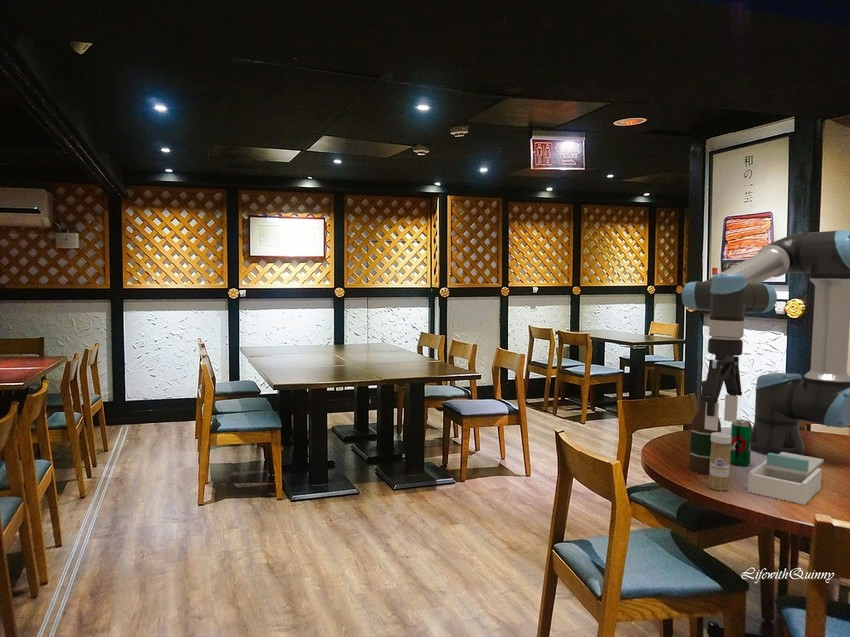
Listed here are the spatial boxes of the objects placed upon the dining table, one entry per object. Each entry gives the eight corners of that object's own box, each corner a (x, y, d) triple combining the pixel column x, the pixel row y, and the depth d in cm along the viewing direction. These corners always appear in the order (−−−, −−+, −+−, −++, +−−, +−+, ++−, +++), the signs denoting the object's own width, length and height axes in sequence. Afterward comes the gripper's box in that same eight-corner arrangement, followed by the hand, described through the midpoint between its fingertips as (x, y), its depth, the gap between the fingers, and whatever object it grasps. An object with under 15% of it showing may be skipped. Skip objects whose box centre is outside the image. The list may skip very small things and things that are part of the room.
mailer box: (767, 477, 163) (767, 458, 163) (820, 488, 155) (821, 469, 155) (747, 492, 152) (748, 472, 151) (804, 505, 144) (805, 483, 143)
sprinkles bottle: (711, 490, 153) (713, 435, 152) (706, 484, 157) (708, 431, 156) (731, 492, 152) (734, 436, 151) (725, 485, 156) (728, 432, 155)
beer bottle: (725, 471, 168) (729, 382, 167) (712, 477, 163) (716, 385, 161) (696, 464, 174) (700, 378, 172) (683, 470, 169) (686, 380, 167)
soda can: (753, 466, 173) (755, 423, 172) (734, 466, 173) (736, 422, 172) (745, 461, 178) (747, 419, 177) (726, 460, 178) (728, 418, 177)
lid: (781, 454, 168) (782, 442, 168) (823, 462, 162) (824, 449, 162) (764, 467, 157) (764, 453, 156) (808, 476, 150) (809, 462, 150)
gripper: (726, 334, 164) (722, 415, 165) (690, 339, 145) (685, 430, 147) (758, 336, 159) (753, 420, 160) (724, 342, 140) (719, 436, 142)
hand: (720, 425), depth 153 cm, fingers open, 13 cm apart
